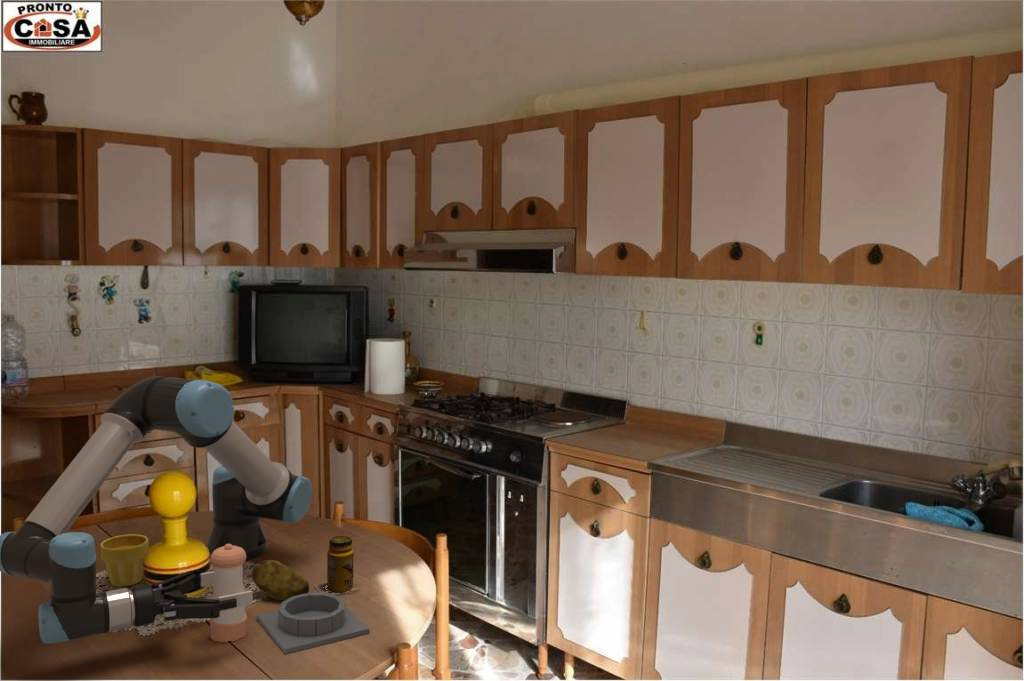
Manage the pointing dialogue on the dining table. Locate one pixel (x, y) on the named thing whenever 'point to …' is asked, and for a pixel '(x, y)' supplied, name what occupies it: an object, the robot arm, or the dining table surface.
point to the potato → (278, 580)
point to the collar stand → (311, 622)
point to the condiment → (339, 566)
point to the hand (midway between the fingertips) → (242, 585)
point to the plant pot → (124, 558)
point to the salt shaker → (228, 593)
